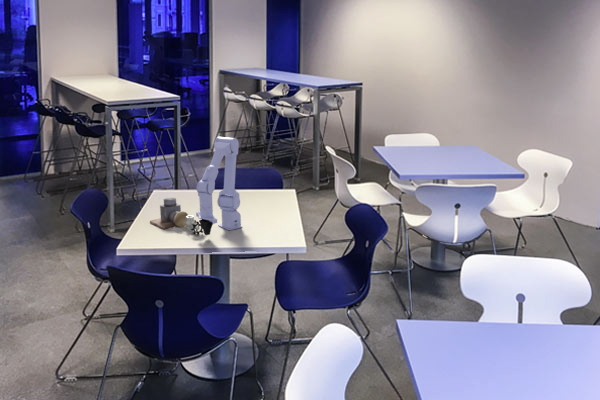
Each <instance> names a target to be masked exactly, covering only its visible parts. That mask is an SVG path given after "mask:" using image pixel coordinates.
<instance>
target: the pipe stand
mask: <svg viewBox="0 0 600 400" xmlns="http://www.w3.org/2000/svg"><path fill="white" fill-rule="evenodd" d="M181 207H182V206H181V204H179V203H177V198H176V197H166V198H164V199H163V204H160V205H159V209H160V210H159V212H160V218H157V219H152V220H149V223H150V224H152V225H154V226H155V227H158V228H160V229H162V230H168V229H172V228H177V227H178V228H179V227H180V228H184V227H186V216H189V214H188V213H187V212H186V211H181V210H182V209H181ZM194 222H195V223H196V222H197V220H196V219H194Z"/></svg>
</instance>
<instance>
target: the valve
mask: <svg viewBox="0 0 600 400" xmlns="http://www.w3.org/2000/svg"><path fill="white" fill-rule="evenodd" d="M194 220H195V218H194V215H192V214H191V215H189V214H188V216H186V225H185V230H186V231H192V234H193V235H197V236H199V235H200V233H202V234H204V231H203V228H202V225H201V224H200V222H199V221H198V220H196V222H194Z"/></svg>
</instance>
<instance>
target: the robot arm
mask: <svg viewBox="0 0 600 400" xmlns="http://www.w3.org/2000/svg"><path fill="white" fill-rule="evenodd" d="M239 145H240V142H239V141H238V139H237V137H224V136H217V137H216V138H215V140H214V143H213V146H214V153H213V155H212V159H211V162H210V164H209V165H207V167H205V171H204V173H203V176H202V178H201V180H199V181H198V182H197V183H196V187H195V188H196V192H197V196H198V197H199V198H198V200H199V211H196V212H195V215H196V216H195V217H197V218H198V220H199V221H198V222H199V224H201V225H202V228H203V229H202V231H203V234H204V236H210V235H211V231H212V227H213V225H214V224H217V223H218V218H217V217H216V216H214V213H213V211H214V209H213V193H214V191H215V185H216V182H215V181H216V179H217V176H218V174H219V169H218V168H219V166H220V164H221V163H222V160H223V158H224V157H225V158H224V159H225V161H224V177H223V189H222V190H220V191H219V193H218V197H217V201H216V202H217V206H218V207H219V209H220V210H221V223H220V224H218V227H221V228H222V229H224V230H228V231H233V230H236V229H240V228H243V225H242V219H241V213H240V212H239V211H238V209H239V207H240V206H241V200H240V192H238V191H237V190H236V188H235V187H236V185H235V184H236V168H237V167H236V166H237V155H238V154H239Z"/></svg>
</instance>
